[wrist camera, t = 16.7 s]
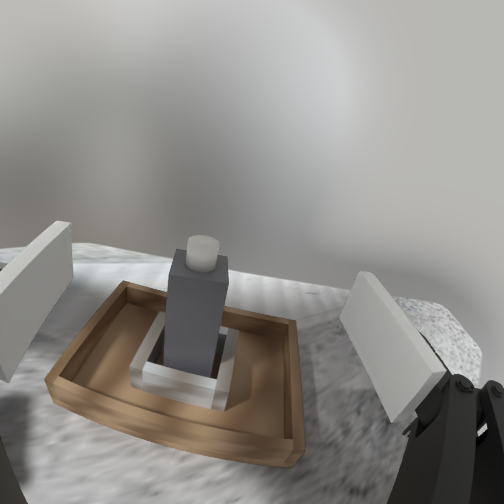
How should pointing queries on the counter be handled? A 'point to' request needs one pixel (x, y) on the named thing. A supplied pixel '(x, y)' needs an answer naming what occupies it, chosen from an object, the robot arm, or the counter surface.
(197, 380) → the walnut box
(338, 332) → the counter surface
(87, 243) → the counter surface
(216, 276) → the charcoal bottle
